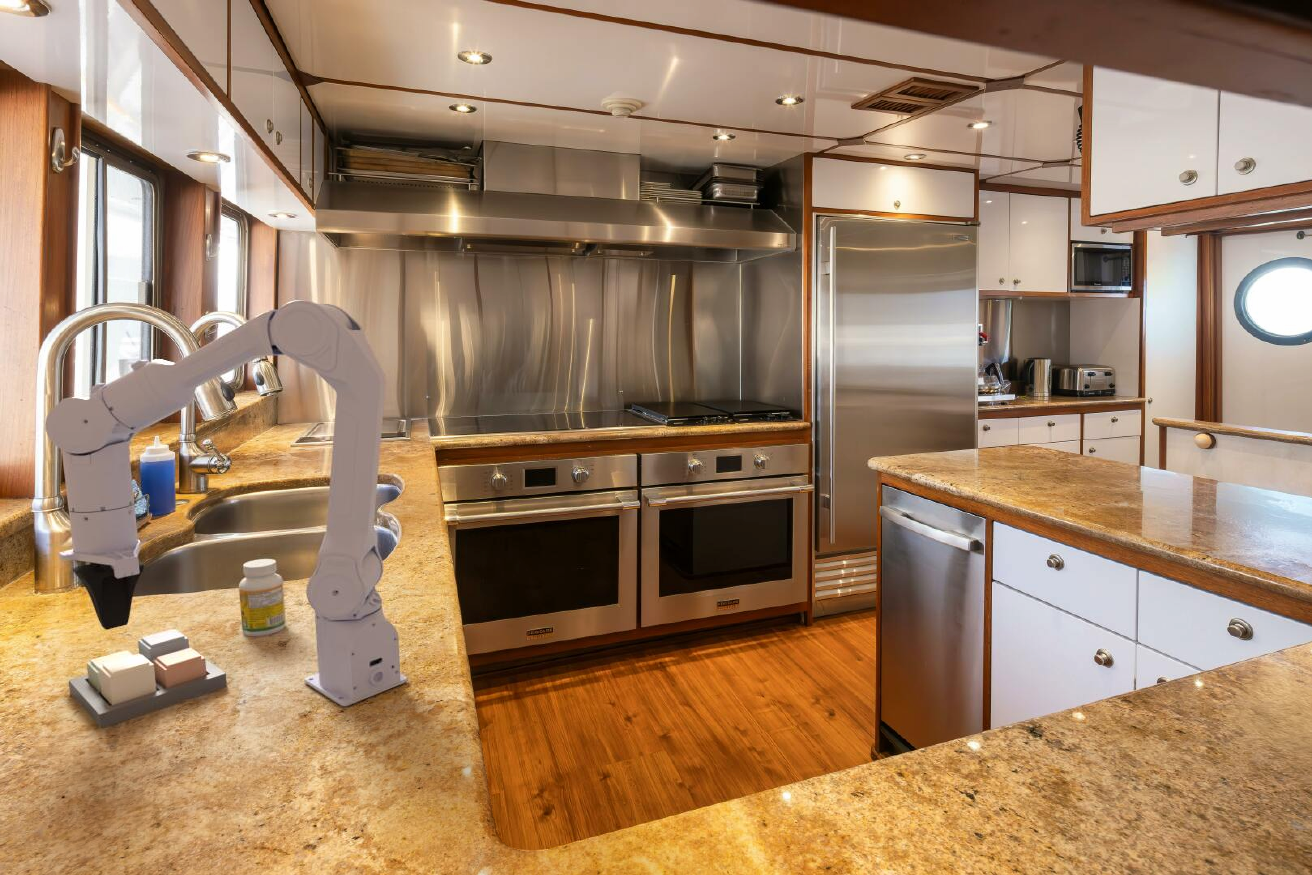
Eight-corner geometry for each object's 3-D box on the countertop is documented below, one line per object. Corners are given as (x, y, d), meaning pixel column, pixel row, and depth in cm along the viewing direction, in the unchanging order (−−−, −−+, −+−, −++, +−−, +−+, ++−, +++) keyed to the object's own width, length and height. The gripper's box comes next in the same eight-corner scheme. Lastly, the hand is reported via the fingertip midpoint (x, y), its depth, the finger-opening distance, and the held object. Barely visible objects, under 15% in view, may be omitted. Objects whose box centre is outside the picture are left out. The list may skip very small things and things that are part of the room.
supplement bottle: (281, 634, 99) (277, 567, 97) (237, 639, 97) (232, 570, 96) (289, 620, 104) (284, 555, 103) (247, 624, 102) (242, 558, 101)
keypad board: (226, 686, 84) (225, 673, 84) (100, 728, 75) (99, 714, 75) (188, 657, 92) (187, 645, 91) (69, 693, 82) (68, 679, 82)
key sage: (142, 686, 83) (139, 657, 83) (99, 700, 80) (96, 670, 80) (131, 676, 86) (128, 648, 85) (89, 689, 82) (86, 660, 82)
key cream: (156, 691, 80) (153, 661, 79) (112, 705, 77) (109, 674, 76) (144, 681, 82) (141, 651, 82) (101, 694, 79) (98, 664, 79)
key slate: (190, 663, 87) (188, 635, 86) (151, 675, 84) (148, 646, 83) (178, 654, 89) (176, 627, 89) (140, 665, 86) (137, 637, 86)
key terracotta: (207, 684, 84) (204, 655, 83) (167, 697, 81) (164, 667, 80) (194, 674, 86) (192, 646, 86) (155, 686, 83) (152, 657, 83)
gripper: (39, 503, 80) (53, 620, 82) (73, 524, 71) (88, 655, 73) (116, 493, 86) (127, 602, 88) (157, 511, 77) (169, 633, 78)
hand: (115, 625), depth 81 cm, fingers closed
